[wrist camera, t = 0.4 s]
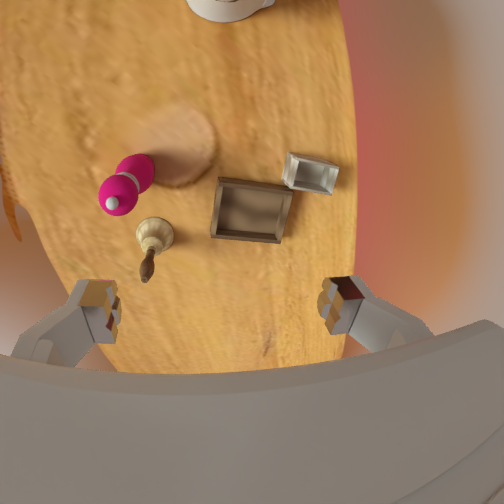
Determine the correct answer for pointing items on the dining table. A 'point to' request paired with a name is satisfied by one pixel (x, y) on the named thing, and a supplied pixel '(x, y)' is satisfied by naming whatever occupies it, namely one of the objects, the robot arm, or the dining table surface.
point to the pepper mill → (126, 184)
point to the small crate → (309, 174)
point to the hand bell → (153, 242)
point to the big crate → (250, 211)
